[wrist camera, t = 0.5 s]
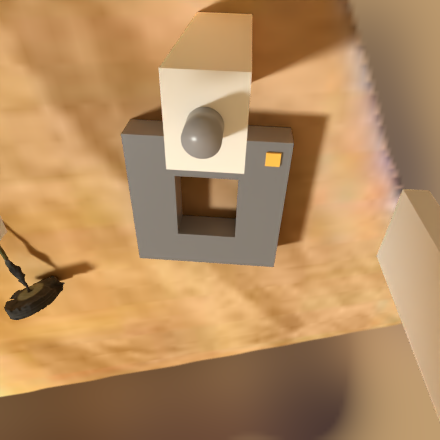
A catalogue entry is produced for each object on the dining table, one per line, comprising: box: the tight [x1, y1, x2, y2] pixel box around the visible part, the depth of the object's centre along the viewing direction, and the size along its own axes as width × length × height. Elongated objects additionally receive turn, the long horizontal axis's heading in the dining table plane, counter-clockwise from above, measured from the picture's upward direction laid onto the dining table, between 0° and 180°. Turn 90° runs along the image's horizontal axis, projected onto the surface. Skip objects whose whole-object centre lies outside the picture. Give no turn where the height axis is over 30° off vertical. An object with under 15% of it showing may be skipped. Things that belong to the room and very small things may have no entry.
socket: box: [121, 119, 294, 267], centre depth 35 cm, size 14×14×3 cm
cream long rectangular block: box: [159, 12, 252, 174], centre depth 22 cm, size 4×5×16 cm
